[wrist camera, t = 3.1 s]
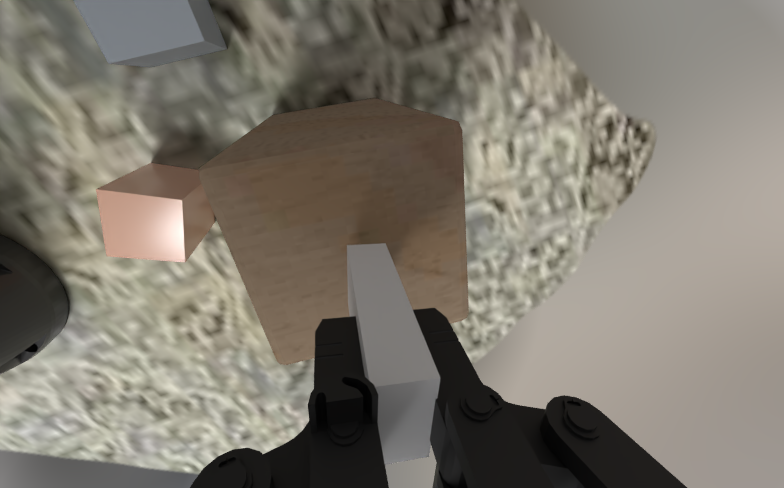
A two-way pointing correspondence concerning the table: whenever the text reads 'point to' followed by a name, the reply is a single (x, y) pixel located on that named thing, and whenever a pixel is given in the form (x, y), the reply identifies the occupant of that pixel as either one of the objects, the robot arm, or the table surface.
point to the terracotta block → (155, 213)
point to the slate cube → (151, 30)
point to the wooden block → (341, 212)
